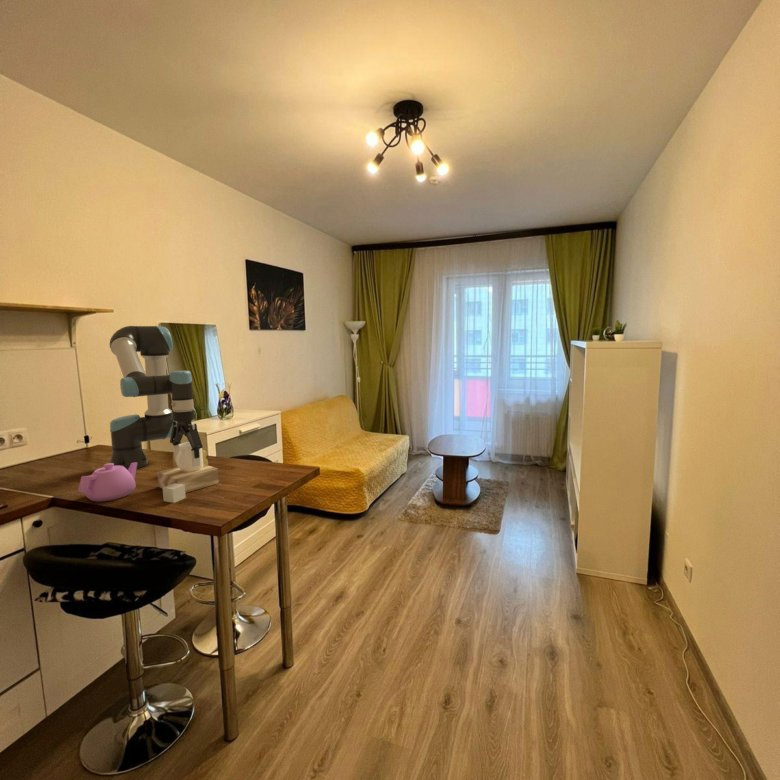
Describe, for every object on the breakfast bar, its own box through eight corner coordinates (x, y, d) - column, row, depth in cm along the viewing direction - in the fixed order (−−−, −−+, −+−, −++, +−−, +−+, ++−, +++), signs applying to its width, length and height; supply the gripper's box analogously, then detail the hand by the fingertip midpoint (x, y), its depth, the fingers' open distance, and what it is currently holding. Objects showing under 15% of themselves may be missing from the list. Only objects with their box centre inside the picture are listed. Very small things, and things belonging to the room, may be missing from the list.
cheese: (208, 466, 188) (207, 445, 187) (195, 474, 177) (193, 451, 176) (187, 466, 189) (185, 445, 188) (172, 473, 178) (170, 451, 177)
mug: (186, 475, 155) (184, 449, 154) (168, 474, 157) (166, 448, 156) (207, 466, 167) (206, 441, 166) (190, 465, 169) (188, 441, 168)
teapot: (97, 508, 141) (94, 474, 139) (66, 503, 146) (62, 470, 144) (153, 487, 161) (150, 457, 160) (124, 483, 166) (121, 454, 165)
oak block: (158, 486, 161) (157, 472, 161) (197, 476, 174) (196, 462, 173) (178, 495, 152) (177, 479, 151) (218, 482, 165) (217, 468, 164)
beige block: (163, 501, 146) (162, 487, 146) (175, 496, 151) (174, 483, 150) (173, 503, 144) (172, 489, 144) (185, 498, 149) (184, 484, 149)
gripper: (158, 409, 164) (162, 460, 166) (190, 414, 149) (194, 471, 152) (176, 406, 170) (180, 456, 172) (209, 411, 155) (213, 466, 158)
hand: (187, 463), depth 162 cm, fingers open, 13 cm apart
